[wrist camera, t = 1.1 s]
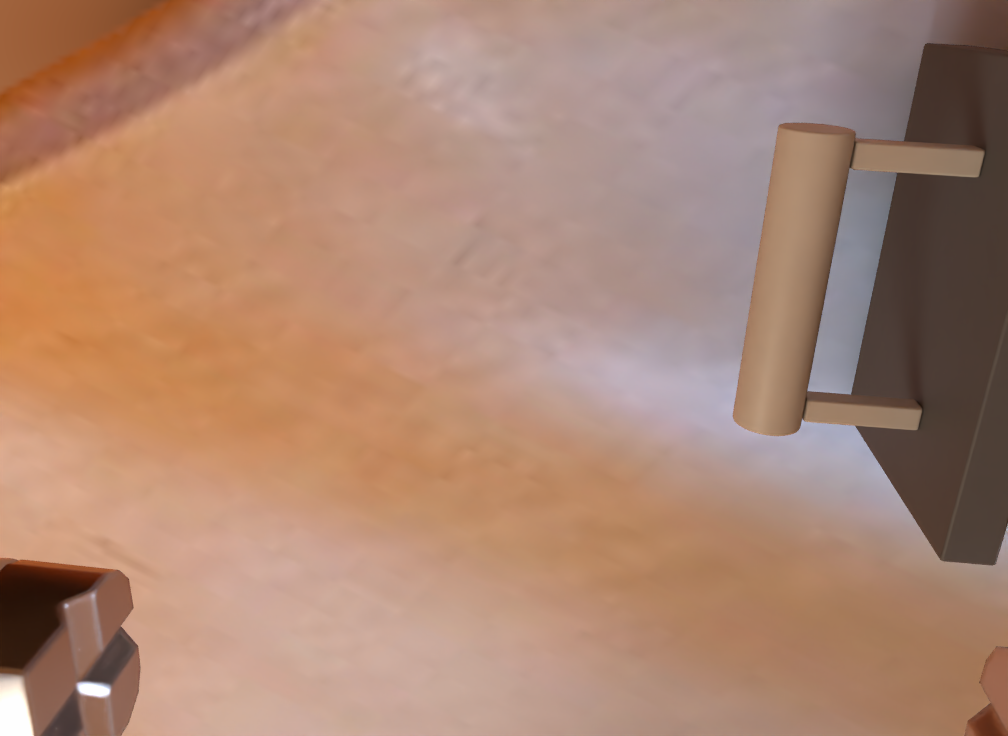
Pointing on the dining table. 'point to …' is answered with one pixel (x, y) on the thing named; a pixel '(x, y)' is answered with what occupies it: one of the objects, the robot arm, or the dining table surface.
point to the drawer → (902, 300)
